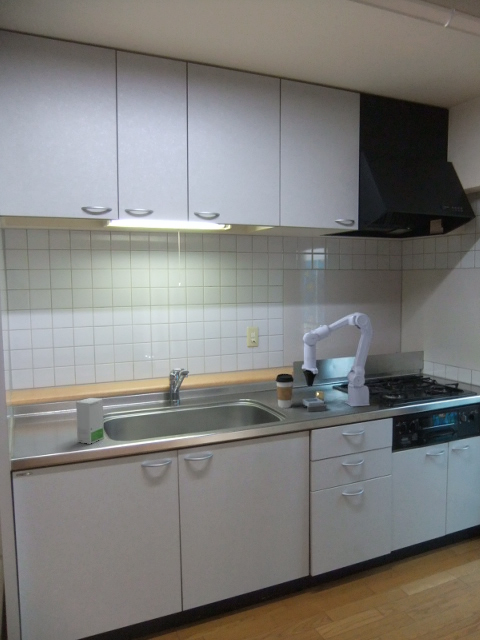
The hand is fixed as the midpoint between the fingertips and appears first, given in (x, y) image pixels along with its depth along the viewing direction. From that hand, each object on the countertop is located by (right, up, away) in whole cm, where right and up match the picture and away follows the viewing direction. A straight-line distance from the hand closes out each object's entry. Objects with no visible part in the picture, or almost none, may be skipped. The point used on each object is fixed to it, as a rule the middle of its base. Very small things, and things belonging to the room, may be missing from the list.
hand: (309, 385), depth 230 cm
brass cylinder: (+5, -9, +5) cm, 11 cm away
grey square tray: (+1, -10, -5) cm, 11 cm away
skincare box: (-90, -14, -47) cm, 103 cm away
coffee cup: (-12, -10, -1) cm, 16 cm away
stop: (+2, -10, -9) cm, 14 cm away
